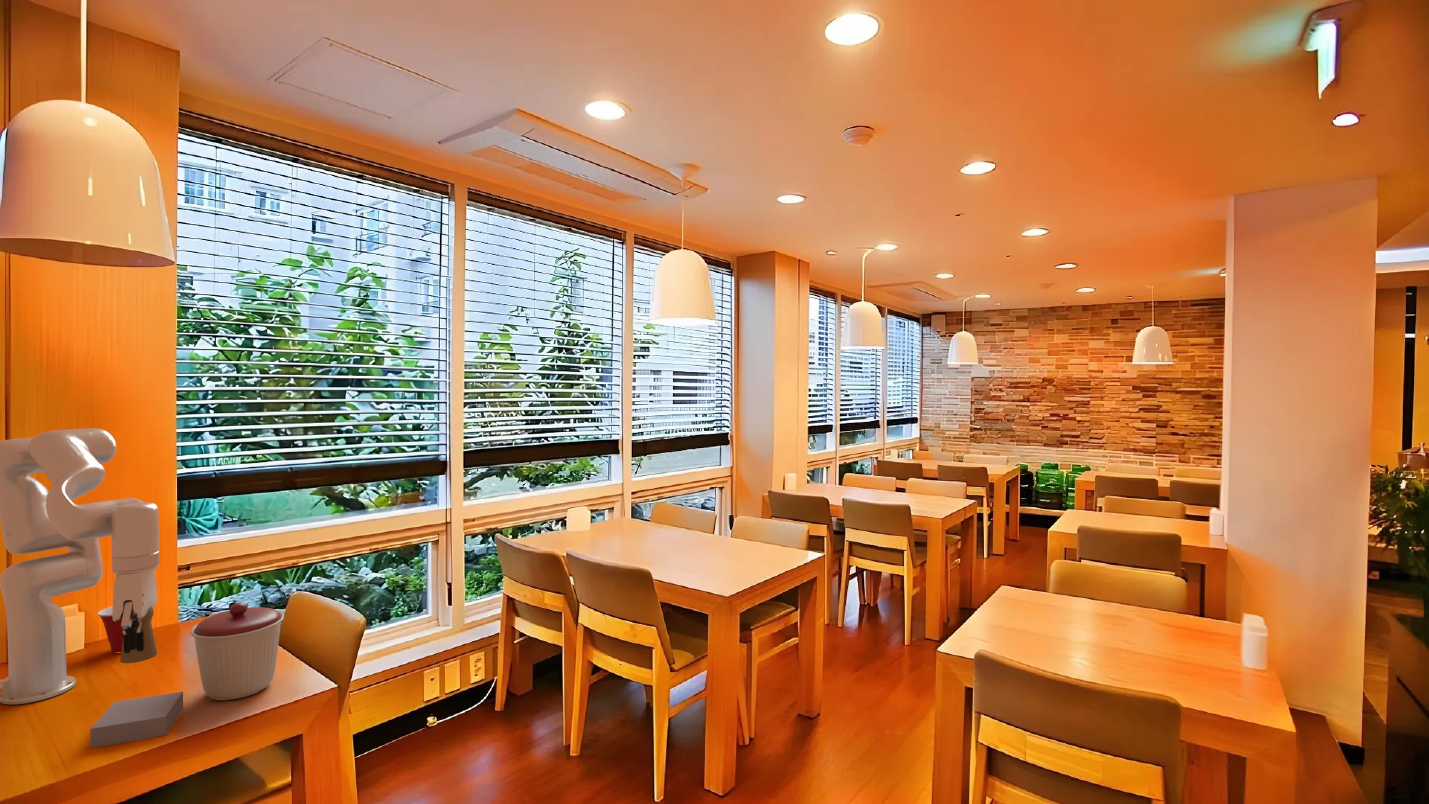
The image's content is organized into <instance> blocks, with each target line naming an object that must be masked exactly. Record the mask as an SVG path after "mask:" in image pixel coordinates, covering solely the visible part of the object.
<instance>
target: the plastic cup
mask: <svg viewBox="0 0 1429 804" xmlns="http://www.w3.org/2000/svg"><path fill="white" fill-rule="evenodd" d="M97 616H98V617H99V618H100V619H101V620H102V624H103V625H104V630H105V633H106V637H107V641H108V642H109V647H110V649H111V652H112V651H113V652H121V651H122V644H123V628H122V627H121V623H122V619H120V620H119V621H118V622H115V621H113V605H112V606H108V607H106V608H104V609H101V610H99V611H98V612H97Z"/></svg>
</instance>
